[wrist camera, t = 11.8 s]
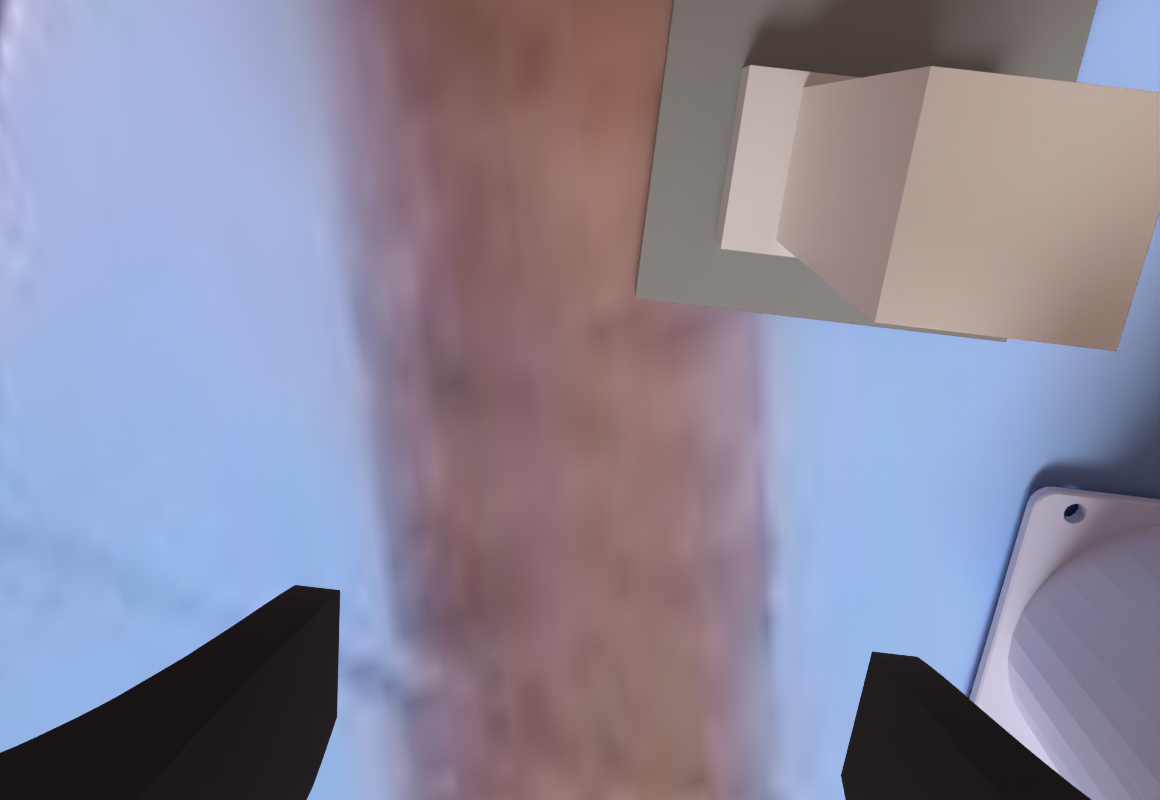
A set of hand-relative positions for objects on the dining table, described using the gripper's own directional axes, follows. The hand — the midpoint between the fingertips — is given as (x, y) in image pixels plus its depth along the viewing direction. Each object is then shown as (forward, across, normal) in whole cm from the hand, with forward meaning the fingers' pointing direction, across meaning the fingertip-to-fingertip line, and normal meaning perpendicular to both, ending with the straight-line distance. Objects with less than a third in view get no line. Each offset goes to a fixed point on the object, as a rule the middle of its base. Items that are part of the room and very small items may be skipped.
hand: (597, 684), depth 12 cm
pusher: (+10, -4, -7) cm, 12 cm away
